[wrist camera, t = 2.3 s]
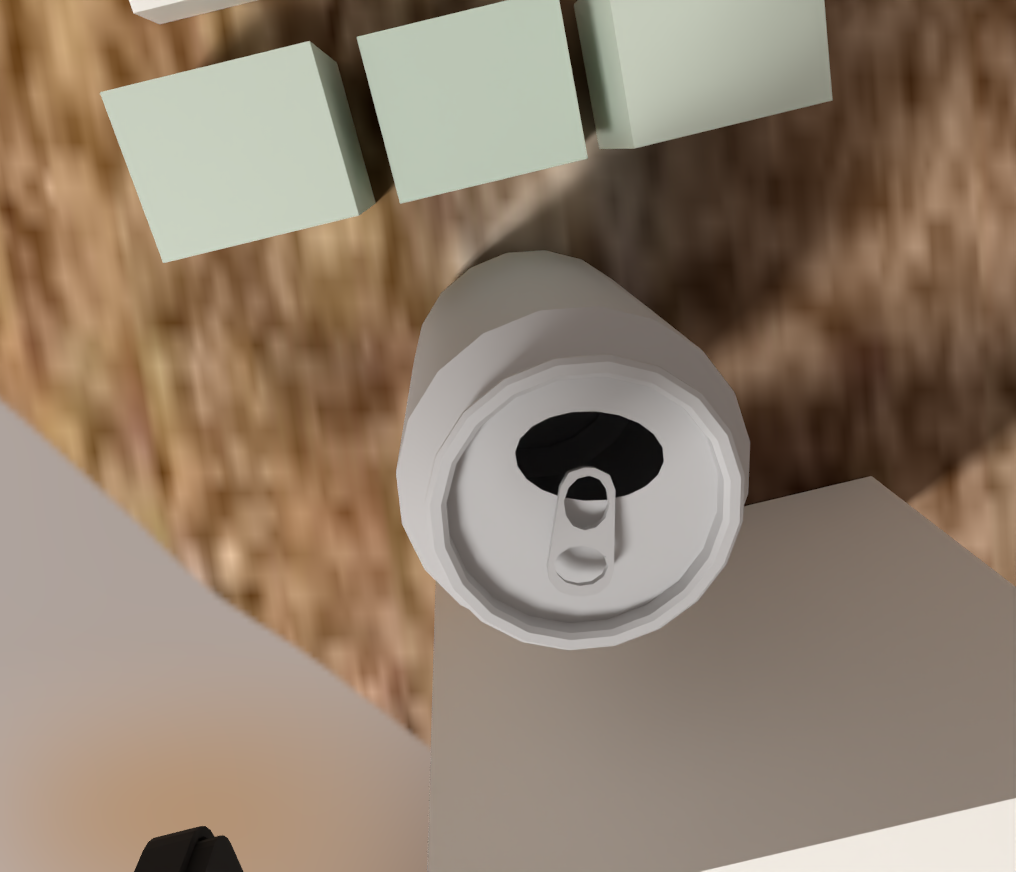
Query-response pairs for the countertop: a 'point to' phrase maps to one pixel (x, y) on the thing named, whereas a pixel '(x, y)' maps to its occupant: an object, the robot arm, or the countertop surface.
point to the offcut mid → (474, 96)
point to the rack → (742, 708)
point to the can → (567, 455)
